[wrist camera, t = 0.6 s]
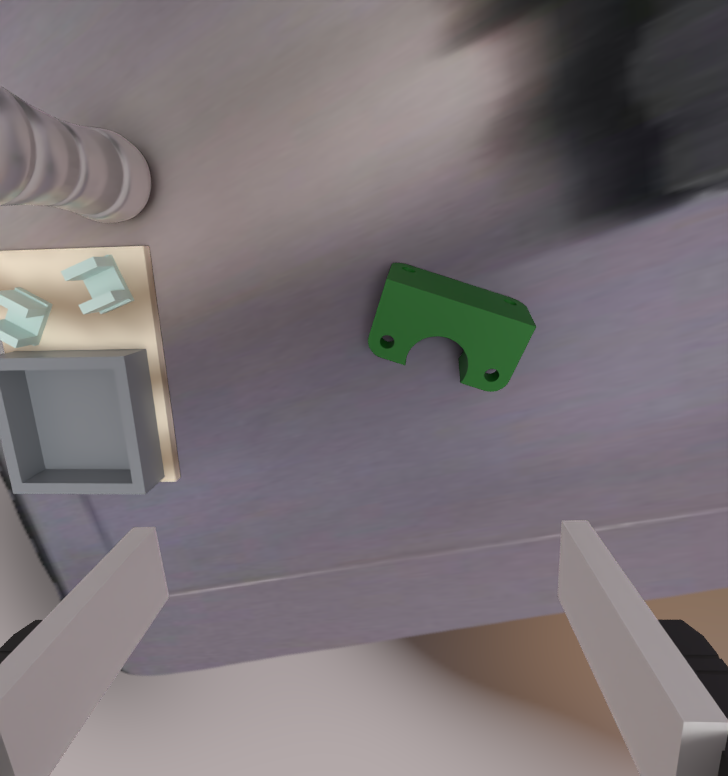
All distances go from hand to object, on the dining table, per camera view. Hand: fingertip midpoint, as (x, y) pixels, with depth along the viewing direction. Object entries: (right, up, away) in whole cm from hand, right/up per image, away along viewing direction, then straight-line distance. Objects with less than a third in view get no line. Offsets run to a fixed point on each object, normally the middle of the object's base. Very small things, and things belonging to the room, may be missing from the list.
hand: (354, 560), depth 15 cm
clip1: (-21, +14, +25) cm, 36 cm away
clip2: (-29, +12, +26) cm, 40 cm away
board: (-24, +7, +28) cm, 38 cm away
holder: (-24, +3, +28) cm, 37 cm away
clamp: (+7, +11, +25) cm, 28 cm away
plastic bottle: (-19, +22, +24) cm, 38 cm away
